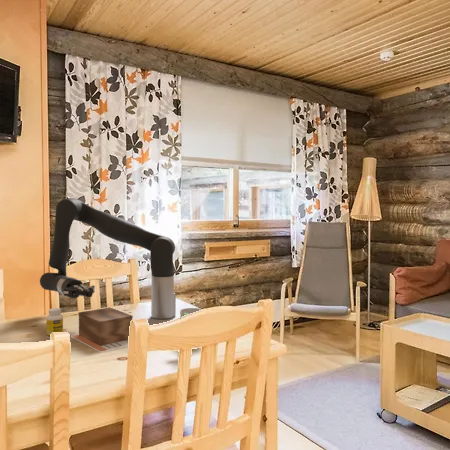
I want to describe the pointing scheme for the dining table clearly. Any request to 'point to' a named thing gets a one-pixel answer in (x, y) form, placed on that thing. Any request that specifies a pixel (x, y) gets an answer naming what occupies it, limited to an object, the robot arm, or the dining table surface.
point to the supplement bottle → (54, 321)
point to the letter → (100, 348)
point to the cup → (188, 311)
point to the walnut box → (104, 325)
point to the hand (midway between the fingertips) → (90, 294)
